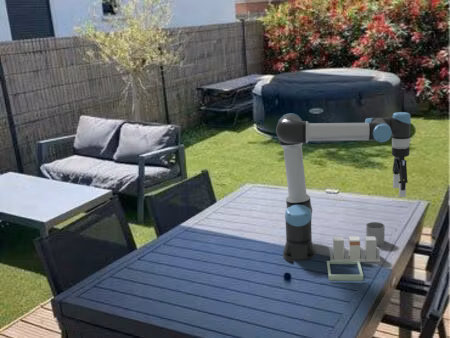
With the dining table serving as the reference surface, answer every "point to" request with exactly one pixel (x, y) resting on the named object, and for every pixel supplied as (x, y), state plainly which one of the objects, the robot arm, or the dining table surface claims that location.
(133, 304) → the dining table surface
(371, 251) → the block
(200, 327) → the dining table surface
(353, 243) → the block
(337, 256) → the block
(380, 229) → the cup
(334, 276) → the tray
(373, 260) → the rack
